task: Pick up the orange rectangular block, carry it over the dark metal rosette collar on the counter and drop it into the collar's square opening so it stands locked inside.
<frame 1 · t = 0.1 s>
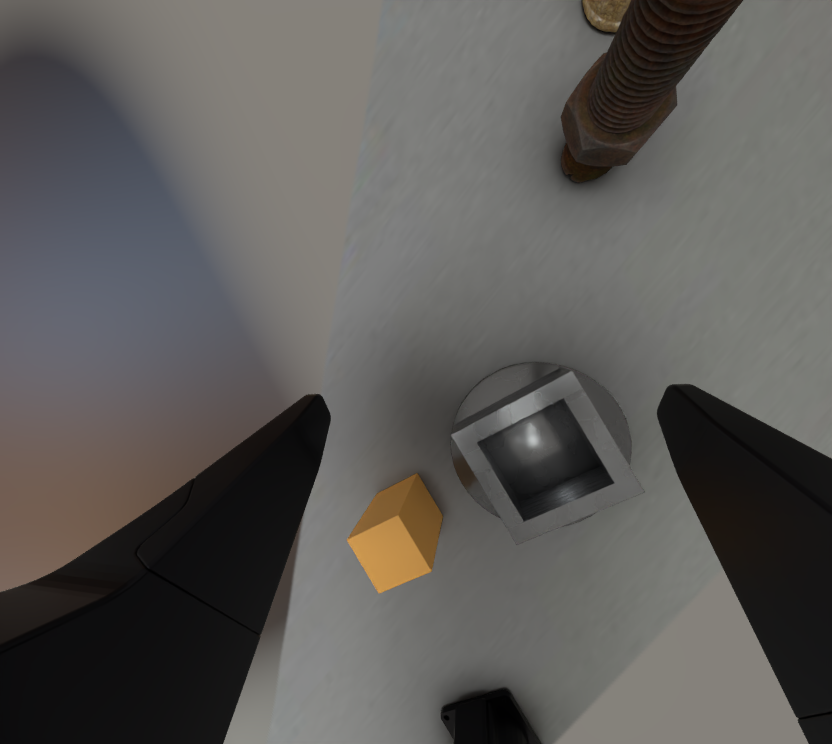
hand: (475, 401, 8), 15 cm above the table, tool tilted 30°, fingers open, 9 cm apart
rosette collar: (534, 444, 23), on the table
orange rectangular block: (409, 504, 25), on the table
bolt: (584, 161, 20), on the table
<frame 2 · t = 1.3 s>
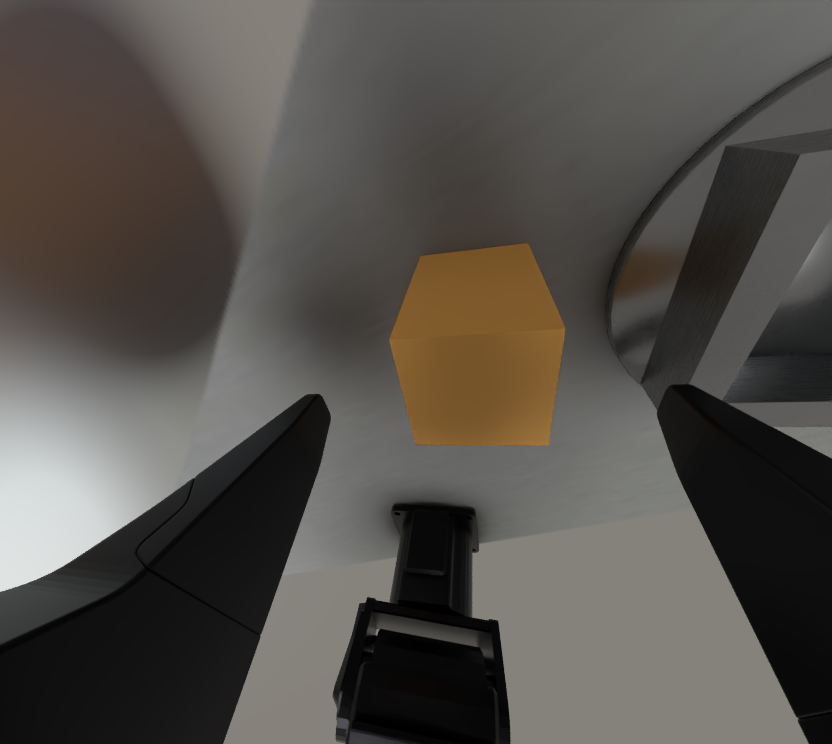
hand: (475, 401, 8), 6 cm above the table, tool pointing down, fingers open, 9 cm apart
rosette collar: (802, 270, 11), on the table
orange rectangular block: (474, 298, 13), on the table
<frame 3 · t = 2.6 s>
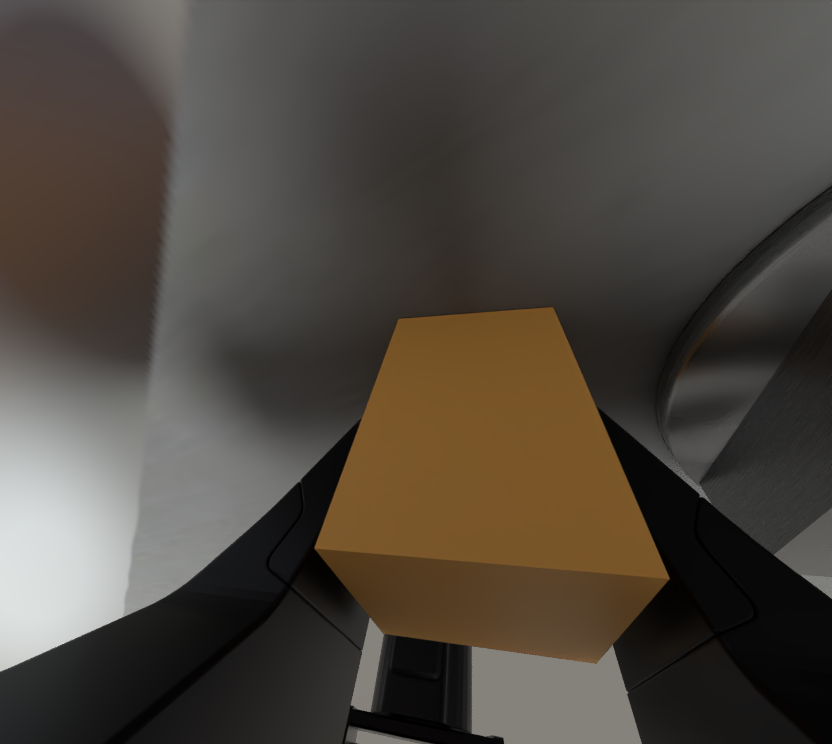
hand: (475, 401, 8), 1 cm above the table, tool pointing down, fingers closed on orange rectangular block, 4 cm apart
orange rectangular block: (475, 372, 9), on the table, touching gripper
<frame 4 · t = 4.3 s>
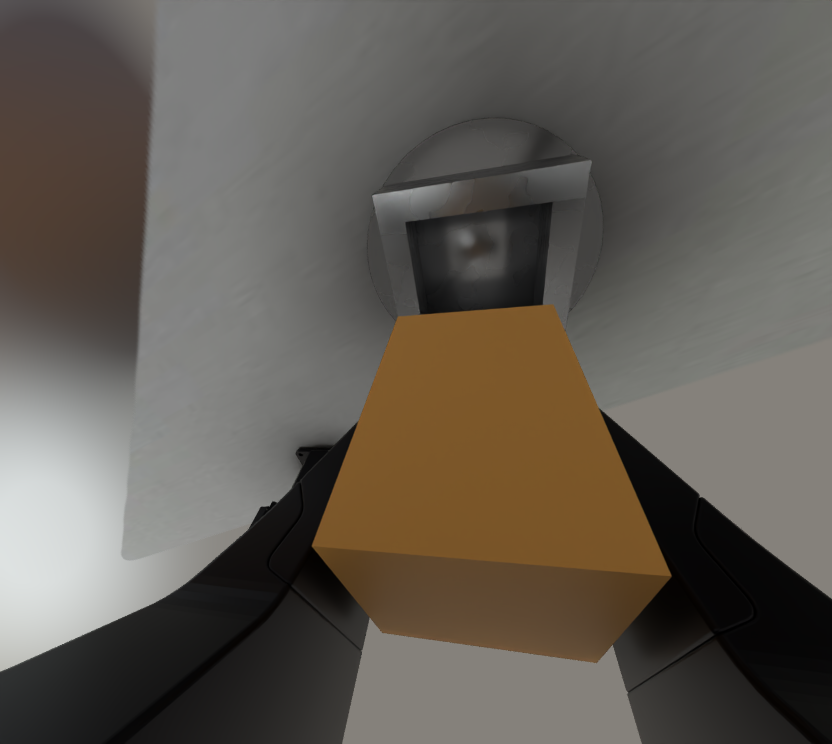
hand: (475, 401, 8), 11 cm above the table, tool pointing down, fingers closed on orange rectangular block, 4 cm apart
rosette collar: (477, 257, 17), on the table
orange rectangular block: (475, 370, 9), point 10 cm above the table, touching gripper
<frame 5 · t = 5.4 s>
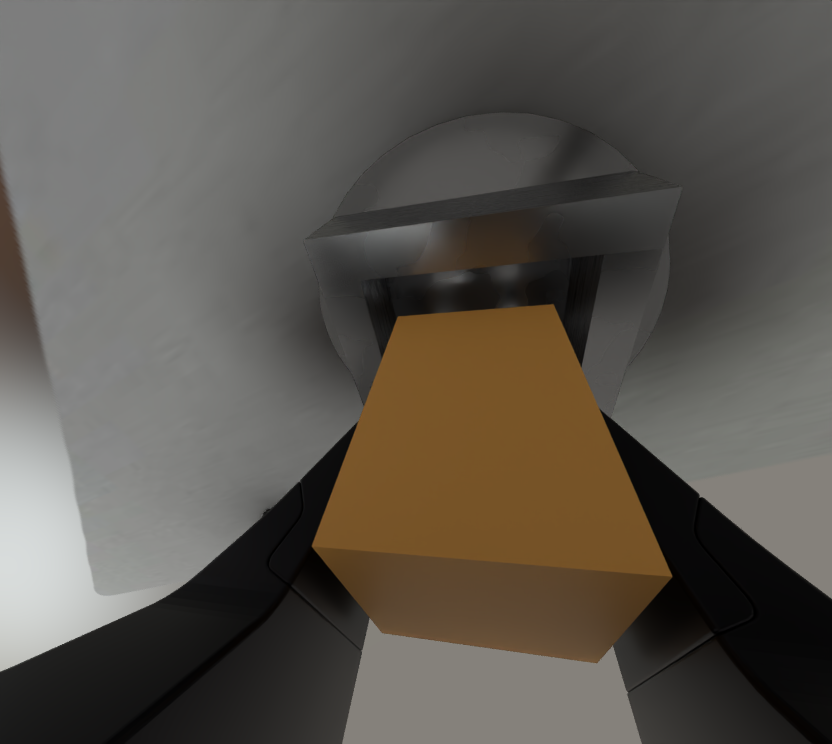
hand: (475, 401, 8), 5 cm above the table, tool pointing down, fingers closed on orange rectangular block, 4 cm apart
rosette collar: (476, 312, 12), on the table
orange rectangular block: (475, 370, 9), point 4 cm above the table, touching gripper
when the fingers open (4 cm above the table, at t = 6.3 s): orange rectangular block drops 2 cm, resting on rosette collar.
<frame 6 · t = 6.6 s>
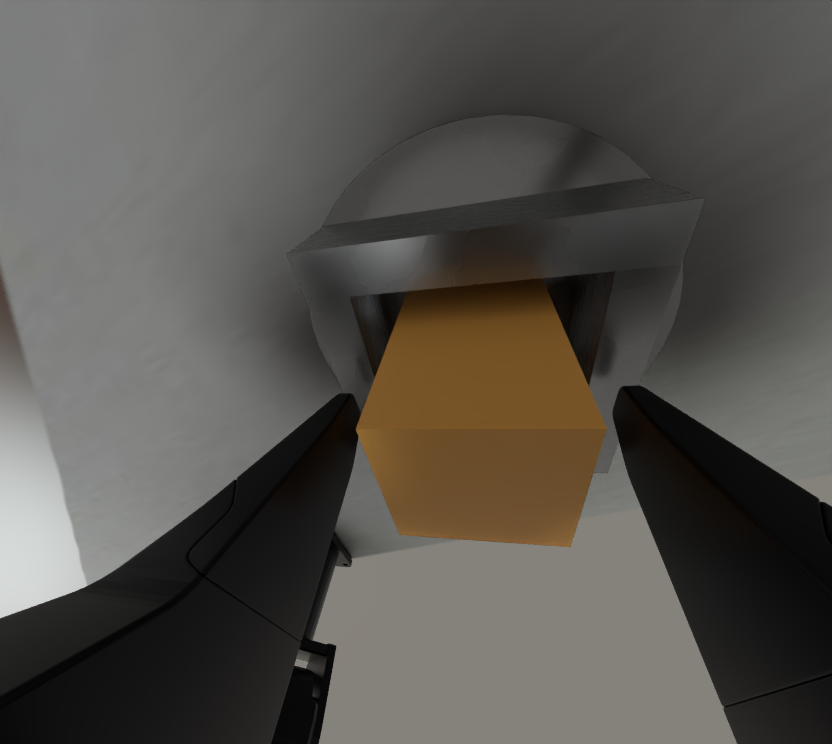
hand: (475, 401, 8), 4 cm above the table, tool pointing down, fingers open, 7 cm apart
rosette collar: (475, 325, 12), on the table
orange rectangular block: (474, 335, 11), point 1 cm above the table, touching rosette collar
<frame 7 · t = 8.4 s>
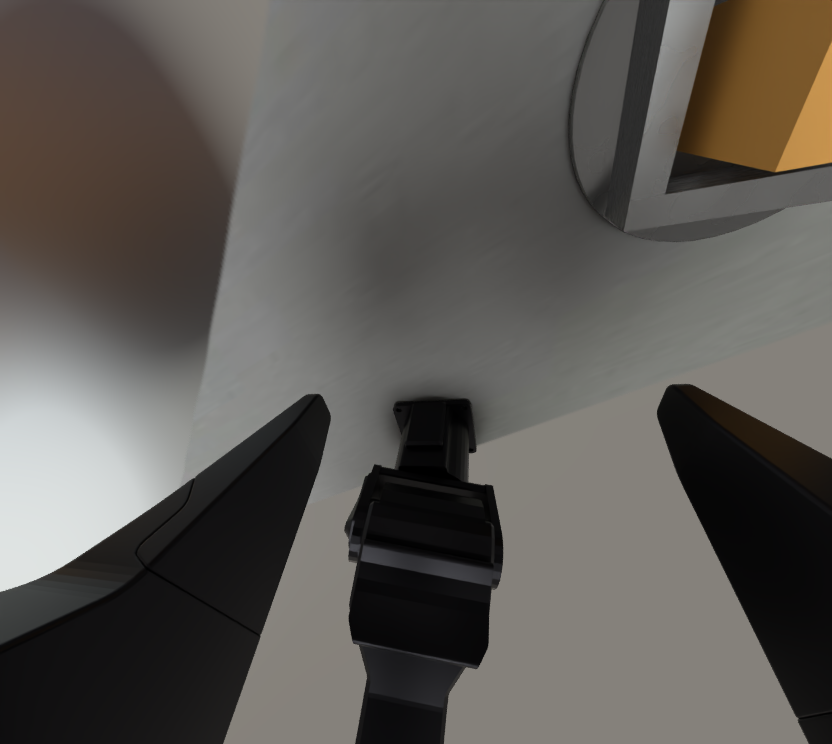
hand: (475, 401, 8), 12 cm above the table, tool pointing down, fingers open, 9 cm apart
rosette collar: (737, 75, 12), on the table
orange rectangular block: (751, 71, 11), point 1 cm above the table, touching rosette collar
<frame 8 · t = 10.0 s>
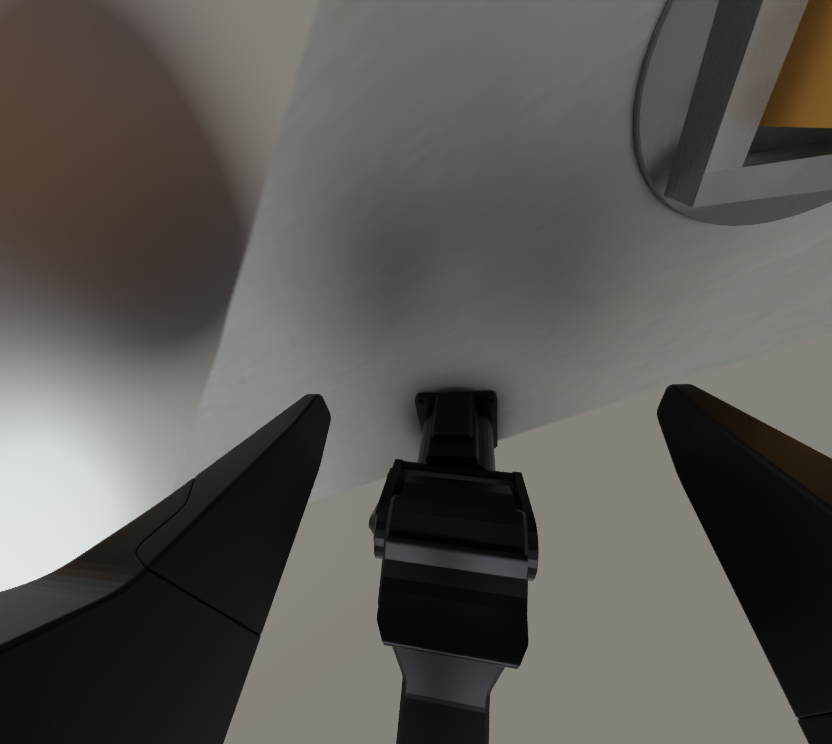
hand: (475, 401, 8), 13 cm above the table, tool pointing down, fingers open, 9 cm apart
rosette collar: (816, 49, 12), on the table
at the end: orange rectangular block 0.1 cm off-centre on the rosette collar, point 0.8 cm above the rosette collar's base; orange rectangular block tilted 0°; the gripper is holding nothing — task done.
